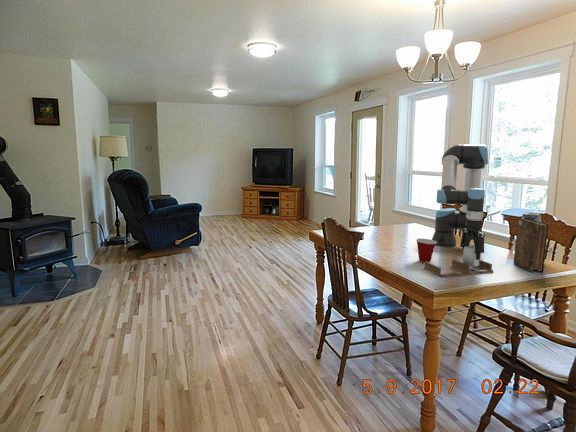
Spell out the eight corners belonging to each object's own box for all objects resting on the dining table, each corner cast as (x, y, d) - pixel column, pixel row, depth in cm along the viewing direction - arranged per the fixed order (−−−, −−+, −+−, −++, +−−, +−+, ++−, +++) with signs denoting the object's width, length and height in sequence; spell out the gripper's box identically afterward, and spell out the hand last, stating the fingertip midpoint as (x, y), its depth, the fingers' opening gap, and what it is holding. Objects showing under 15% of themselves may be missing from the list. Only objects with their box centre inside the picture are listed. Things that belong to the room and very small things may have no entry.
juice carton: (516, 259, 209) (521, 211, 205) (519, 255, 217) (524, 209, 212) (535, 262, 203) (540, 213, 199) (537, 258, 211) (542, 210, 207)
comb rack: (474, 264, 199) (475, 257, 198) (493, 272, 186) (493, 264, 185) (424, 269, 192) (424, 261, 191) (440, 277, 179) (440, 269, 179)
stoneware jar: (471, 262, 196) (473, 243, 194) (481, 265, 189) (482, 246, 187) (459, 263, 194) (461, 244, 192) (469, 266, 187) (470, 247, 186)
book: (511, 263, 202) (516, 217, 198) (525, 263, 202) (530, 217, 197) (530, 272, 185) (535, 223, 181) (544, 272, 185) (550, 223, 181)
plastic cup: (438, 264, 199) (439, 242, 197) (417, 263, 201) (418, 242, 199) (432, 259, 210) (434, 238, 208) (413, 258, 211) (414, 237, 209)
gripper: (454, 216, 196) (451, 258, 200) (482, 223, 177) (478, 269, 181) (466, 215, 198) (463, 257, 202) (495, 222, 179) (491, 268, 183)
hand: (470, 263), depth 191 cm, fingers closed on stoneware jar, 7 cm apart
